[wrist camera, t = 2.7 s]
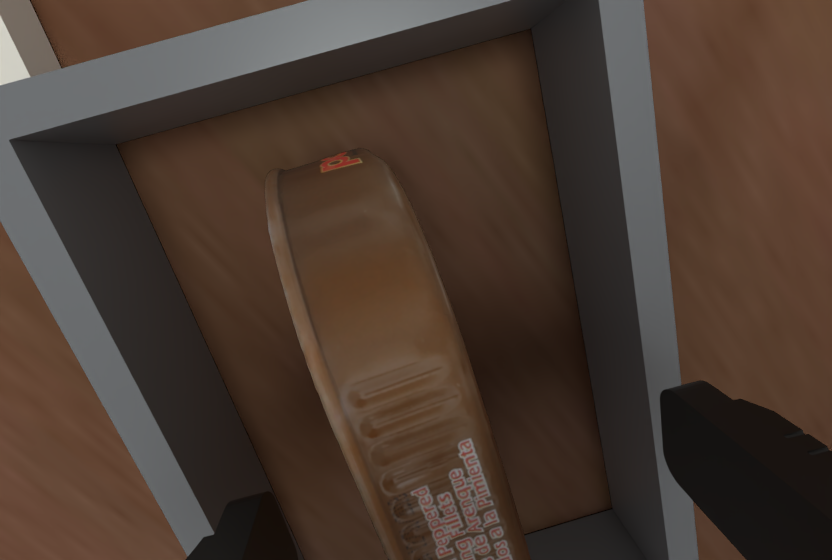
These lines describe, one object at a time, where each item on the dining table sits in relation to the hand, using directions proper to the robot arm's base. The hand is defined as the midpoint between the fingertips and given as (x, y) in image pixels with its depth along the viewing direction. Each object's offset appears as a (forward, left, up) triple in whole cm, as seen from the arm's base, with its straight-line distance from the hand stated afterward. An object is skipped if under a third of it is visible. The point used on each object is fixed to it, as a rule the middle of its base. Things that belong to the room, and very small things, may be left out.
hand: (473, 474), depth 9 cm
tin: (+1, +1, -8) cm, 8 cm away
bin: (+1, +1, -7) cm, 7 cm away
